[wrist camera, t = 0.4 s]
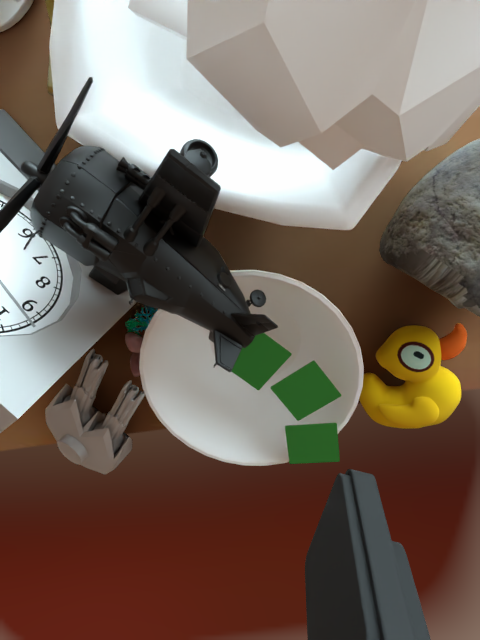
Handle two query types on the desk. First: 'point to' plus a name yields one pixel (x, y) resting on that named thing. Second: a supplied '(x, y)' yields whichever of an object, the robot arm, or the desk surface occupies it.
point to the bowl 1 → (192, 121)
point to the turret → (92, 420)
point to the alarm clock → (41, 294)
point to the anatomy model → (137, 337)
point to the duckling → (415, 378)
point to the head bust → (343, 70)
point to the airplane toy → (142, 232)
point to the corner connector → (163, 14)
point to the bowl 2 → (233, 392)
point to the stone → (441, 230)
